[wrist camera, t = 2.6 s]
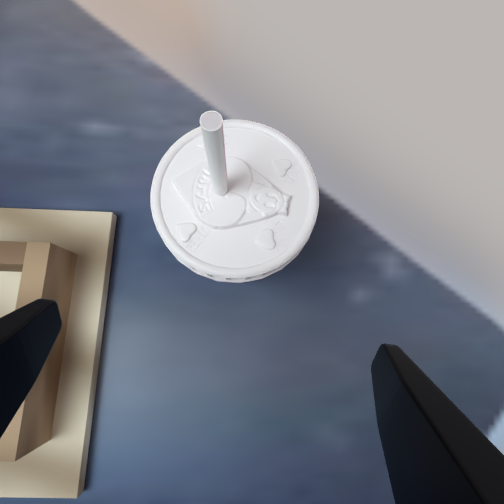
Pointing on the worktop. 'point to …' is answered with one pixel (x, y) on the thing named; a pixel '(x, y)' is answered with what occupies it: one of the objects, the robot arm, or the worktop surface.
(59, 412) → the bottle stand
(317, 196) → the smoothie
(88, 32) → the worktop surface
